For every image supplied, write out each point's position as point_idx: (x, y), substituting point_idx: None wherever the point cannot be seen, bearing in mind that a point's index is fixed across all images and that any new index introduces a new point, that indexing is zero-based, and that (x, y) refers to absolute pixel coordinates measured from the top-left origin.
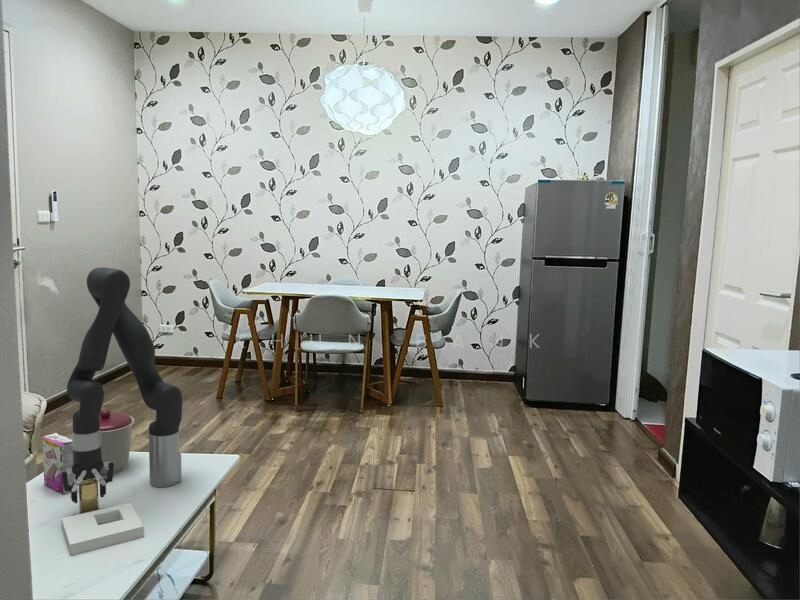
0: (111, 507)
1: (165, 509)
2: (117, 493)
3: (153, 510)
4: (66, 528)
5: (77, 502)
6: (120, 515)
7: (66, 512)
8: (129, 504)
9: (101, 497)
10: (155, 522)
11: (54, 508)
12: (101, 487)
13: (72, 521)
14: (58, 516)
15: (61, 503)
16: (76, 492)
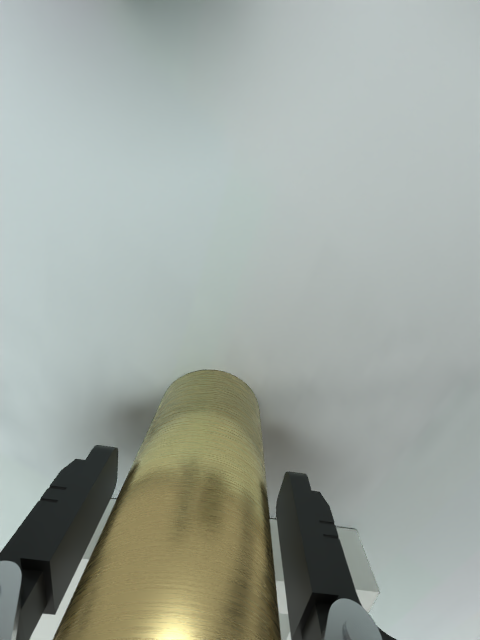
0: (278, 584)
1: (469, 578)
2: (444, 299)
3: (432, 562)
4: (36, 628)
5: (113, 490)
6: (285, 614)
7: (98, 355)
8: (364, 602)
9: (278, 507)
10: None
11: (34, 251)
12: (292, 624)
13: (68, 598)
14: (51, 374)
15: (85, 198)
16: (55, 599)
